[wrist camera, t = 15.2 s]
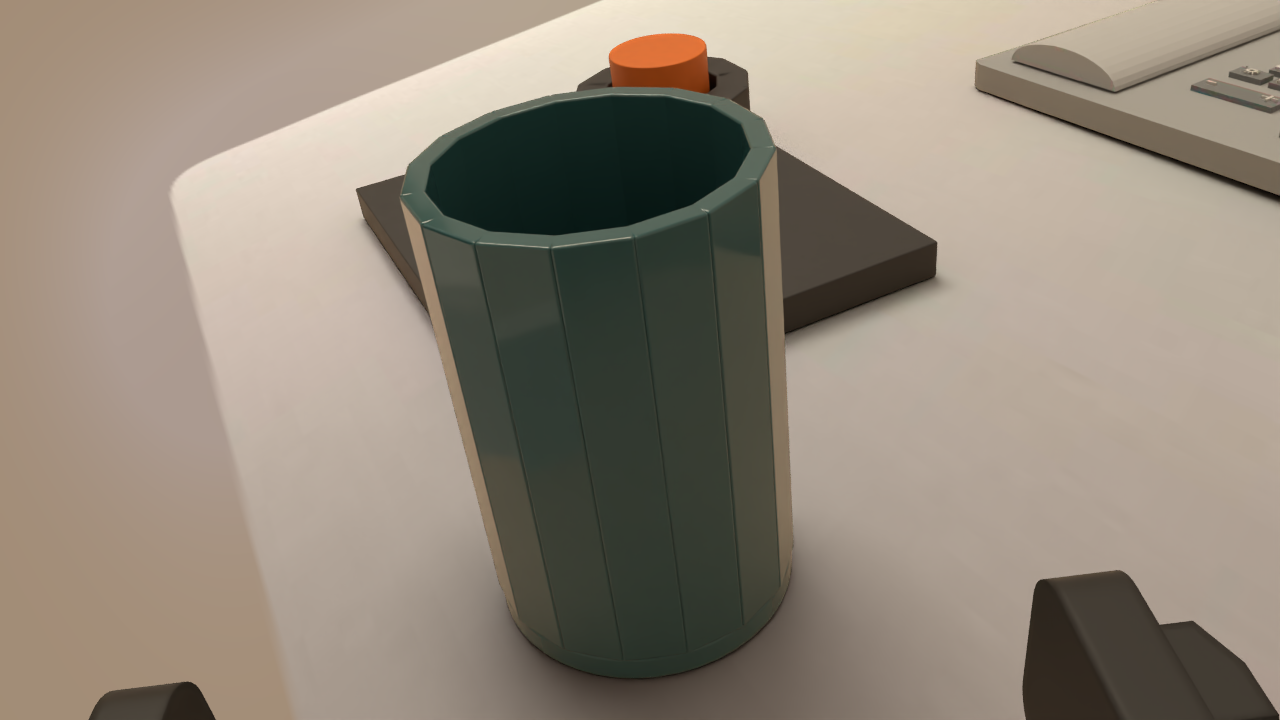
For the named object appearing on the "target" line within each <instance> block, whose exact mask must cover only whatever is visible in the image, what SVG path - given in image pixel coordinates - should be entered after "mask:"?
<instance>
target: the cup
mask: <svg viewBox="0 0 1280 720" xmlns="http://www.w3.org/2000/svg"><path fill="white" fill-rule="evenodd" d="M400 201H401V205H402V209H403V213H404V217H405V220H406V224H407V228H408V232H409V236H410V240H411V244H412V248H413V251H414V255H415V259H416V263H417V267H418V271H419V275H420V279H421V282H422V286H423V290H424V294H425V298H426V302H427V306H428V310H429V313H430V317H431V321H432V325H433V329H434V333H435V337H436V340H437V344H438V348H439V352H440V356H441V360H442V364H443V368H444V371H445V375H446V379H447V383H448V387H449V391H450V395H451V399H452V402H453V406H454V410H455V414H456V418H457V422H458V426H459V430H460V433H461V437H462V441H463V445H464V449H465V453H466V457H467V461H468V464H469V468H470V472H471V476H472V480H473V484H474V488H475V491H476V495H477V499H478V503H479V507H480V511H481V515H482V519H483V522H484V526H485V530H486V534H487V538H488V542H489V546H490V550H491V553H492V557H493V561H494V565H495V569H496V573H497V577H498V581H499V584H500V586H501V588H502V590H503V591H504V593H505V597H506V601H507V605H508V608H509V610H510V613H511V615H512V617H513V620H514V621H515V623H516V624H517V626H518V627H519V629H520V630H521V632H522V633H523V634H524V635H525V636H526V637H527V638H528V639H529V640H530V642H531V643H532V644H533V645H535V646H536V647H537V648H539V649H540V650H541V651H542V652H544V653H545V654H546V655H548V656H550V657H552V658H553V659H555V660H557V661H559V662H560V663H562V664H565V665H567V666H570V667H572V668H575V669H577V670H580V671H584V672H588V673H592V674H595V675H601V676H608V677H615V678H637V679H638V678H652V677H661V676H667V675H672V674H678V673H682V672H685V671H689V670H692V669H695V668H699V667H701V666H704V665H706V664H709V663H711V662H713V661H716V660H718V659H720V658H722V657H724V656H725V655H727V654H729V653H731V652H733V651H734V650H736V649H737V648H739V647H740V646H741V645H743V644H744V643H746V642H747V641H748V640H750V639H751V638H752V637H753V636H754V635H755V634H756V633H757V632H759V631H760V630H761V629H762V628H763V627H764V626H765V624H766V623H767V622H768V621H769V619H770V618H771V617H772V616H773V615H774V613H775V611H776V610H777V608H778V606H779V605H780V603H781V601H782V600H783V597H784V595H785V592H786V590H787V587H788V585H789V580H790V575H791V565H792V549H793V520H792V497H791V474H790V451H789V428H788V405H787V382H786V359H785V336H784V313H783V289H782V266H781V243H780V220H779V197H778V174H777V151H776V146H775V144H774V141H773V139H772V137H771V134H770V132H769V130H768V127H767V125H766V122H765V120H763V118H762V117H760V116H758V115H756V114H755V113H753V112H751V111H749V110H748V109H746V108H744V107H742V106H740V105H739V104H737V103H735V102H733V101H732V100H730V99H726V98H723V97H718V96H713V95H708V94H704V93H699V92H694V91H689V90H684V89H679V88H663V87H608V88H600V89H593V90H585V91H577V92H570V93H562V94H554V95H551V96H545V97H542V98H538V99H535V100H531V101H528V102H524V103H520V104H517V105H513V106H510V107H506V108H503V109H499V110H496V111H493V112H491V113H487V114H485V115H483V116H481V117H479V118H477V119H475V120H473V121H471V122H469V123H467V124H465V125H462V126H460V127H458V128H456V129H454V130H452V131H450V132H448V133H446V134H444V135H442V136H441V137H439V138H438V139H437V140H435V141H434V142H433V143H432V144H431V145H430V146H429V147H428V148H427V149H425V150H424V151H423V152H422V153H421V154H420V155H419V156H418V157H417V158H415V159H414V160H413V161H412V162H411V163H410V164H409V166H407V170H406V174H405V178H404V182H403V185H402V189H401V193H400Z"/></svg>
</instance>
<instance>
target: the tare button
mask: <svg viewBox="0 0 1280 720" xmlns="http://www.w3.org/2000/svg"><path fill="white" fill-rule="evenodd" d="M609 63H610V70H611V78H612V86H613V87H663V88H679V89H684V90H689V91H694V92H699V93H704V94H707V93H708V92H709V91H710V87H709V74H708V61H707V48H706V44H705V42H704V41H703V40H702V39H700V38H698V37H695V36H691V35H685V34H656V35H649V36H643V37H639V38H635V39H632V40H629V41H626V42H624V43H622V44H620V45H618V46H616V47H615V48H614V49H612V50H611V52H610V54H609Z"/></svg>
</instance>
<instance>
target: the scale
mask: <svg viewBox="0 0 1280 720" xmlns="http://www.w3.org/2000/svg"><path fill="white" fill-rule="evenodd" d="M707 61H708V74H709V87H710V91H709V92H708V93H707V94H708V95H713V96H718V97H723V98H726V99H730V100H732V101H733V102H735V103H737V104H739V105H740V106H742V107H744V108H746V109H748V110H749V111H750V101H749V83H748V72H747V71H746V70H745V69H743V68H741V67H739V66H737V65H735V64H733V63H731V62H729V61H727V60H725V59H723V58H714V57H707ZM608 87H613V86H612V78H611V70H610V67H609V68H606V69H604V70H602V71H600V72H599V73H597V74H595V75H594V76H592V77H590V78H589V79H587V80H586V81H584V82H582V83H581V84H579V85H578V88H577V91H585V90H593V89H600V88H608ZM577 91H576V92H577ZM776 151H777V174H778V197H779V220H780V243H781V266H782V289H783V313H784V333H786V332H789V331H792V330H794V329H797V328H799V327H802V326H805V325H807V324H810V323H813V322H815V321H818V320H820V319H823V318H826V317H828V316H831V315H834V314H836V313H839V312H841V311H844V310H847V309H849V308H852V307H854V306H857V305H860V304H862V303H865V302H868V301H870V300H873V299H875V298H878V297H881V296H883V295H886V294H889V293H891V292H894V291H896V290H899V289H902V288H904V287H907V286H910V285H912V284H915V283H917V282H920V281H923V280H925V279H928V278H931V277H933V276H935V275H936V259H937V242H936V241H935V240H933V239H932V238H930V237H928V236H926V235H925V234H923V233H921V232H920V231H918V230H916V229H915V228H913V227H911V226H910V225H908V224H906V223H905V222H903V221H901V220H900V219H898V218H896V217H895V216H893V215H891V214H889V213H888V212H886V211H884V210H883V209H881V208H879V207H878V206H876V205H874V204H873V203H871V202H869V201H868V200H866V199H864V198H863V197H861V196H859V195H857V194H856V193H854V192H852V191H851V190H849V189H847V188H846V187H844V186H842V185H841V184H839V183H837V182H836V181H834V180H832V179H831V178H829V177H827V176H826V175H824V174H822V173H820V172H819V171H817V170H815V169H814V168H812V167H810V166H809V165H807V164H805V163H804V162H802V161H800V160H799V159H797V158H795V157H794V156H792V155H790V154H789V153H787V152H785V151H783V150H782V149H780V148H778V147H777V146H776ZM404 178H405V175H402V176H398V177H395V178H391V179H388V180H385V181H381V182H378V183H374V184H371V185H367V186H364V187H361V188H357V189H356V192H357V195H358V199H359V202H360V206H361V210H362V213H363V217H364V218H365V219H366V221H367V222H368V224H369V225H370V227H371V228H372V230H373V231H374V233H375V234H376V236H377V237H378V239H379V240H380V242H381V243H382V245H383V246H384V248H385V249H386V251H387V252H388V254H389V255H390V257H391V258H392V260H393V261H394V263H395V264H396V266H397V267H398V269H399V270H400V271H401V273H402V274H403V276H404V277H405V279H406V280H407V282H408V283H409V285H410V286H411V288H412V289H413V291H414V292H415V294H416V295H417V297H418V298H419V300H420V301H421V303H422V304H423V306H424V307H425V309H426V310H427V312H428V313H429V310H428V306H427V302H426V298H425V294H424V290H423V286H422V282H421V279H420V275H419V271H418V267H417V263H416V259H415V255H414V251H413V248H412V244H411V240H410V236H409V232H408V228H407V224H406V220H405V217H404V213H403V209H402V205H401V201H400V193H401V189H402V185H403V182H404ZM429 315H430V313H429Z"/></svg>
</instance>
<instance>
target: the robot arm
mask: <svg viewBox="0 0 1280 720" xmlns="http://www.w3.org/2000/svg"><path fill="white" fill-rule="evenodd" d="M1023 703H1024V711H1025V716H1026V720H1279V714H1278V713H1277V711H1276V710H1275V708H1274V707H1273V705H1272V704H1271V702H1270V701H1269V699H1268V697H1267V696H1266V694H1265V693H1264V691H1263V690H1262V688H1261V687H1260V685H1259V684H1258V682H1257V681H1256V679H1255V678H1254V676H1253V674H1252V673H1251V671H1250V670H1249V668H1248V667H1247V665H1246V664H1245V663H1244V662H1243V661H1242V660H1241V659H1240V658H1238V657H1237V656H1236V655H1235V654H1233V653H1232V652H1231V651H1230V650H1228V649H1227V648H1226V647H1225V646H1223V645H1222V644H1221V643H1220V642H1218V641H1217V640H1216V639H1215V638H1213V637H1212V636H1211V635H1210V634H1209V633H1207V632H1206V631H1205V630H1204V629H1202V628H1201V627H1200V626H1199V625H1197V624H1196V623H1195V622H1194V621H1188V622H1179V623H1171V624H1163V625H1159V623H1158V622H1157V620H1156V618H1155V617H1154V615H1153V613H1152V611H1151V610H1150V608H1149V606H1148V605H1147V603H1146V601H1145V600H1144V598H1143V596H1142V595H1141V593H1140V591H1139V589H1138V588H1137V586H1136V585H1135V583H1134V582H1133V580H1132V579H1131V578H1130V577H1129V576H1128V575H1127V574H1126V573H1124V572H1122V571H1120V570H1116V571H1108V572H1099V573H1091V574H1083V575H1075V576H1067V577H1059V578H1051V579H1042V580H1040V581H1038V583H1037V584H1036V586H1035V589H1034V595H1033V602H1032V611H1031V619H1030V627H1029V635H1028V643H1027V652H1026V660H1025V668H1024V676H1023ZM89 720H216V719H215V717H214V715H213V713H212V711H211V710H210V708H209V706H208V704H207V702H206V700H205V698H204V696H203V694H202V692H201V691H200V689H199V688H198V687H197V686H196V685H195V684H193V683H191V682H181V683H173V684H165V685H157V686H148V687H140V688H131V689H123V690H116V691H111V692H108V693H106V694H105V695H104V696H103V697H102V698H100V700H99V701H98V702H97V704H96V705H95V707H94V709H93V711H92V714H91V716H90V718H89Z"/></svg>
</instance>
